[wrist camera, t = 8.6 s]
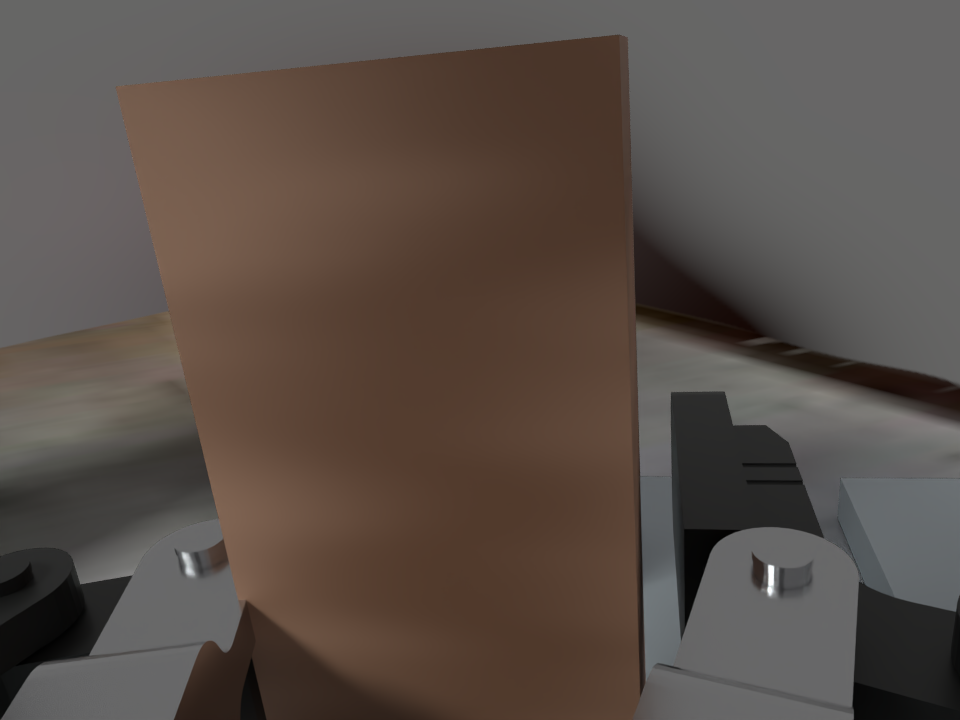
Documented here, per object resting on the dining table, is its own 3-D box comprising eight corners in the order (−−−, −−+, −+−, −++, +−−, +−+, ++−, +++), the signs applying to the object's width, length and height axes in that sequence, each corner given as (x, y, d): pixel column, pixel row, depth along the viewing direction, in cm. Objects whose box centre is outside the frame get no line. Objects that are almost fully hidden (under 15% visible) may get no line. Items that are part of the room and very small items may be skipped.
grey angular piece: (429, 722, 17) (332, 69, 13) (494, 512, 25) (448, 58, 21) (1451, 794, 14) (1832, -84, 9) (1158, 522, 22) (1284, -26, 17)
